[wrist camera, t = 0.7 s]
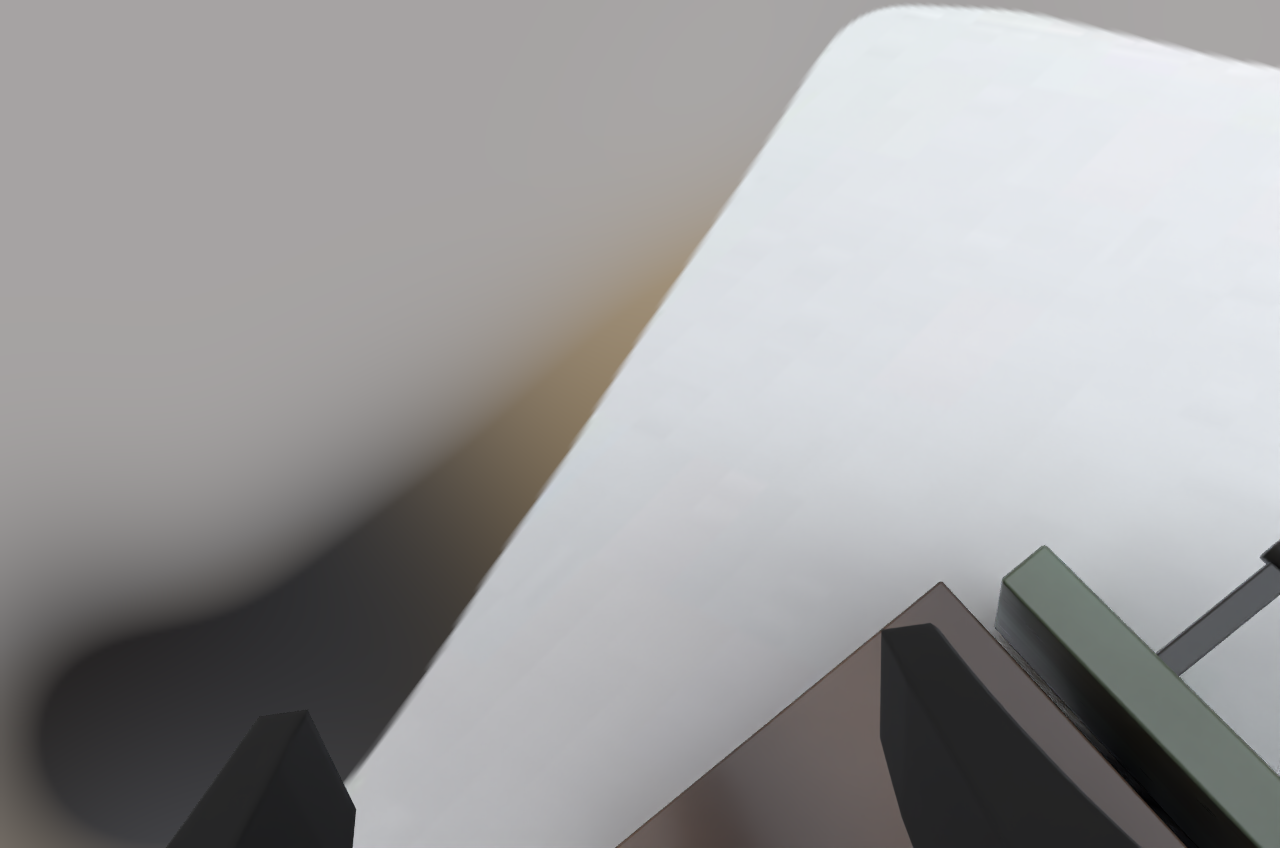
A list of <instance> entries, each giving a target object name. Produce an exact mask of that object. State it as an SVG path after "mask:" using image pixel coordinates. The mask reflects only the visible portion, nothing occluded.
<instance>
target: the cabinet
mask: <svg viewBox="0 0 1280 848" xmlns="http://www.w3.org/2000/svg"><path fill="white" fill-rule="evenodd" d="M925 623H932V624H933V625H935V626H936V627H937V628H939V629H940V631H941V632H942V633H943V634H944V636H945V637H946V638H947V640H948V641H949V642H950V644H951V645H952V646H953V647H954V649H955V650H956V651H957V652H958V654H959V655H960V656H961V657H962V659H963V660H964V661H965V662H966V663H967V665H968V666H969V667H970V668H971V670H972V671H973V672H974V673H975V674H976V676H977V677H978V678H979V679H980V680H981V681H982V683H983V684H984V685H985V686H986V687H987V689H988V690H989V691H990V692H991V693H992V694H993V695H994V697H995V698H996V699H997V700H998V701H999V702H1000V703H1001V705H1002V706H1003V707H1004V708H1005V709H1006V710H1007V712H1008V713H1009V714H1010V715H1011V716H1012V717H1013V718H1014V719H1015V720H1016V722H1017V723H1018V724H1019V725H1020V726H1021V727H1022V728H1023V729H1024V730H1025V731H1026V733H1027V734H1028V735H1029V736H1030V737H1031V738H1032V739H1033V740H1034V741H1035V742H1036V743H1037V744H1038V745H1039V746H1040V747H1041V748H1042V749H1043V750H1044V752H1045V753H1046V754H1047V755H1048V756H1049V757H1050V758H1051V759H1052V760H1053V761H1054V762H1055V763H1056V764H1057V765H1058V766H1059V767H1060V768H1061V769H1062V771H1063V772H1064V773H1065V774H1066V775H1067V776H1068V777H1069V778H1070V779H1071V780H1072V781H1073V782H1074V783H1075V784H1076V785H1077V786H1078V787H1079V788H1080V789H1081V790H1082V791H1083V792H1084V793H1085V794H1086V795H1087V796H1088V797H1089V798H1090V799H1091V800H1092V801H1093V802H1094V803H1095V804H1096V805H1097V806H1098V807H1099V808H1101V809H1102V810H1103V811H1104V812H1105V813H1106V814H1107V815H1108V816H1109V817H1110V818H1111V819H1112V820H1113V821H1114V822H1115V823H1116V824H1117V825H1118V826H1119V827H1120V828H1121V829H1122V830H1123V831H1125V832H1126V833H1127V834H1128V835H1129V836H1130V837H1131V838H1132V839H1133V840H1134V841H1135V842H1136V843H1137V844H1139V845H1140V846H1141V847H1142V848H1187V847H1186V846H1185V844H1184V843H1183V842H1182V841H1181V840H1180V839H1179V838H1178V837H1177V836H1176V835H1175V834H1174V833H1173V831H1172V830H1171V829H1170V828H1169V827H1168V826H1167V825H1166V824H1165V823H1164V822H1163V821H1162V819H1161V818H1160V817H1159V816H1158V815H1157V814H1156V813H1155V812H1154V811H1153V810H1152V809H1151V808H1150V806H1149V805H1148V804H1147V803H1146V802H1145V801H1144V800H1143V799H1142V798H1141V797H1140V796H1139V795H1138V793H1137V792H1136V791H1135V790H1134V789H1133V788H1132V787H1131V786H1130V785H1129V784H1128V783H1127V781H1126V780H1125V779H1124V778H1123V777H1122V776H1121V775H1120V774H1119V773H1118V772H1117V771H1116V770H1115V768H1114V767H1113V766H1112V765H1111V764H1110V763H1109V762H1108V761H1107V760H1106V759H1105V758H1104V757H1103V755H1102V754H1101V753H1100V752H1099V751H1098V750H1097V749H1096V748H1095V747H1094V746H1093V745H1092V743H1091V742H1090V741H1089V740H1088V739H1087V738H1086V737H1085V736H1084V735H1083V734H1082V733H1081V732H1080V730H1079V729H1078V728H1077V727H1076V726H1075V725H1074V724H1073V723H1072V722H1071V721H1070V720H1069V719H1068V717H1067V716H1066V715H1065V714H1064V713H1063V712H1062V711H1061V710H1060V709H1059V708H1058V707H1057V706H1056V704H1055V703H1054V702H1053V701H1052V700H1051V699H1050V698H1049V697H1048V696H1047V695H1046V694H1045V692H1044V691H1043V690H1042V689H1041V688H1040V687H1039V686H1038V685H1037V684H1036V683H1035V682H1034V681H1033V679H1032V678H1031V677H1030V676H1029V675H1028V674H1027V673H1026V672H1025V671H1024V670H1023V669H1022V668H1021V666H1020V665H1019V664H1018V663H1017V662H1016V661H1015V660H1014V659H1013V658H1012V657H1011V656H1010V654H1009V653H1008V652H1007V651H1006V650H1005V649H1004V648H1003V647H1002V646H1001V645H1000V644H999V643H998V641H997V640H996V639H995V638H994V637H993V636H992V635H991V634H990V633H989V632H988V631H987V630H986V628H985V627H984V626H983V625H982V624H981V623H980V622H979V621H978V620H977V619H976V618H975V616H974V615H973V614H972V613H971V612H970V611H969V610H968V609H967V608H966V607H965V606H964V605H963V603H962V602H961V601H960V600H959V599H958V598H957V597H956V596H955V595H954V594H953V593H952V592H951V590H950V589H949V588H948V587H947V586H946V585H945V584H944V583H943V582H939V583H937V584H936V585H935V586H934V587H933V588H931V589H930V590H929V591H928V592H926V593H925V594H924V595H923V596H922V597H920V598H919V599H918V600H917V601H915V602H914V603H913V604H912V605H911V606H909V607H908V608H907V609H906V610H905V611H903V612H902V613H901V614H900V615H898V616H897V617H896V618H895V619H894V620H892V621H891V622H890V623H889V624H887V625H886V626H885V627H884V628H883V629H889V628H897V627H904V626H911V625H918V624H925ZM881 630H882V629H881ZM881 630H880V631H879V632H878V633H876V634H875V635H874V636H873V637H872V638H870V639H869V640H868V641H867V642H865V643H864V644H863V645H862V646H861V647H859V648H858V649H857V650H856V651H854V652H853V653H852V654H851V655H850V656H848V657H847V658H846V659H845V660H844V661H842V662H841V663H840V664H839V665H837V666H836V667H835V668H834V669H833V670H831V671H830V672H829V673H828V674H826V675H825V676H824V677H823V678H822V679H820V680H819V681H818V682H817V683H815V684H814V685H813V686H812V687H811V688H809V689H808V690H807V691H806V692H804V693H803V694H802V695H801V696H800V697H798V698H797V699H796V700H795V701H793V702H792V703H791V704H790V705H789V706H787V707H786V708H785V709H784V710H783V711H781V712H780V713H779V714H778V715H776V716H775V717H774V718H773V719H772V720H770V721H769V722H768V723H767V724H765V725H764V726H763V727H762V728H761V729H759V730H758V731H757V732H756V733H754V734H753V735H752V736H751V737H750V738H748V739H747V740H746V741H745V742H743V743H742V744H741V745H740V746H739V747H737V748H736V749H735V750H734V751H733V752H731V753H730V754H729V755H728V756H726V757H725V758H724V759H723V760H722V761H720V762H719V763H718V764H717V765H715V766H714V767H713V768H712V769H711V770H709V771H708V772H707V773H706V774H704V775H703V776H702V777H701V778H700V779H698V780H697V781H696V782H695V783H693V784H692V785H691V786H690V787H689V788H687V789H686V790H685V791H684V792H682V793H681V794H680V795H679V796H678V797H676V798H675V799H674V800H673V801H672V802H670V803H669V804H668V805H667V806H665V807H664V808H663V809H662V810H661V811H659V812H658V813H657V814H656V815H654V816H653V817H652V818H651V819H650V820H648V821H647V822H646V823H645V824H643V825H642V826H641V827H640V828H639V829H637V830H636V831H635V832H634V833H632V834H631V835H630V836H629V837H628V838H626V839H625V840H624V841H623V842H621V843H620V844H619V845H618V846H617V847H615V848H913V846H912V843H911V840H910V838H909V835H908V833H907V830H906V827H905V825H904V822H903V820H902V817H901V813H900V809H899V806H898V802H897V799H896V795H895V792H894V788H893V785H892V781H891V777H890V774H889V770H888V766H887V762H886V759H885V755H884V751H883V747H882V744H881V740H880V688H881Z"/></svg>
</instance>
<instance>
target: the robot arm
mask: <svg viewBox="0 0 1280 848" xmlns="http://www.w3.org/2000/svg"><path fill="white" fill-rule="evenodd" d="M880 740H881V744H882V747H883V751H884V755H885V759H886V762H887V766H888V770H889V774H890V777H891V781H892V785H893V788H894V792H895V795H896V799H897V802H898V806H899V809H900V813H901V817H902V820H903V822H904V825H905V827H906V830H907V833H908V835H909V838H910V840H911V843H912V846H913V848H1142V847H1141V846H1140V845H1139V844H1137V843H1136V842H1135V841H1134V840H1133V839H1132V838H1131V837H1130V836H1129V835H1128V834H1127V833H1126V832H1125V831H1123V830H1122V829H1121V828H1120V827H1119V826H1118V825H1117V824H1116V823H1115V822H1114V821H1113V820H1112V819H1111V818H1110V817H1109V816H1108V815H1107V814H1106V813H1105V812H1104V811H1103V810H1102V809H1101V808H1099V807H1098V806H1097V805H1096V804H1095V803H1094V802H1093V801H1092V800H1091V799H1090V798H1089V797H1088V796H1087V795H1086V794H1085V793H1084V792H1083V791H1082V790H1081V789H1080V788H1079V787H1078V786H1077V785H1076V784H1075V783H1074V782H1073V781H1072V780H1071V779H1070V778H1069V777H1068V776H1067V775H1066V774H1065V773H1064V772H1063V771H1062V769H1061V768H1060V767H1059V766H1058V765H1057V764H1056V763H1055V762H1054V761H1053V760H1052V759H1051V758H1050V757H1049V756H1048V755H1047V754H1046V753H1045V752H1044V750H1043V749H1042V748H1041V747H1040V746H1039V745H1038V744H1037V743H1036V742H1035V741H1034V740H1033V739H1032V738H1031V737H1030V736H1029V735H1028V734H1027V733H1026V731H1025V730H1024V729H1023V728H1022V727H1021V726H1020V725H1019V724H1018V723H1017V722H1016V720H1015V719H1014V718H1013V717H1012V716H1011V715H1010V714H1009V713H1008V712H1007V710H1006V709H1005V708H1004V707H1003V706H1002V705H1001V703H1000V702H999V701H998V700H997V699H996V698H995V697H994V695H993V694H992V693H991V692H990V691H989V690H988V689H987V687H986V686H985V685H984V684H983V683H982V681H981V680H980V679H979V678H978V677H977V676H976V674H975V673H974V672H973V671H972V670H971V668H970V667H969V666H968V665H967V663H966V662H965V661H964V660H963V659H962V657H961V656H960V655H959V654H958V652H957V651H956V650H955V649H954V647H953V646H952V645H951V644H950V642H949V641H948V640H947V638H946V637H945V636H944V634H943V633H942V632H941V631H940V629H939V628H937V627H936V626H935V625H933V624H932V623H925V624H918V625H911V626H904V627H897V628H889V629H882V630H881V688H880ZM355 815H356V808H355V806H354V804H353V802H352V800H351V798H350V796H349V794H348V792H347V790H346V788H345V786H344V784H343V782H342V780H341V777H340V775H339V773H338V771H337V769H336V767H335V765H334V763H333V761H332V759H331V757H330V755H329V753H328V751H327V749H326V747H325V745H324V743H323V741H322V739H321V737H320V734H319V732H318V730H317V728H316V726H315V724H314V722H313V720H312V718H311V716H310V714H309V712H308V710H302V711H295V712H288V713H281V714H273V715H266V716H260V717H259V718H258V719H257V721H256V722H255V723H254V725H253V726H252V728H251V729H250V730H249V732H248V733H247V734H246V736H245V737H244V738H243V740H242V741H241V743H240V744H239V745H238V747H237V748H236V750H235V751H234V753H233V754H232V756H231V757H230V758H229V760H228V761H227V763H226V764H225V765H224V767H223V768H222V770H221V771H220V773H219V774H218V775H217V777H216V778H215V780H214V781H213V783H212V784H211V785H210V787H209V788H208V790H207V791H206V793H205V794H204V795H203V797H202V798H201V800H200V801H199V802H198V804H197V805H196V807H195V808H194V809H193V811H192V812H191V814H190V815H189V817H188V818H187V820H186V821H185V822H184V824H183V825H182V826H181V828H180V829H179V831H178V832H177V833H176V835H175V836H174V837H173V839H172V840H171V842H170V843H169V844H168V846H167V847H166V848H352V847H353V837H354V826H355Z"/></svg>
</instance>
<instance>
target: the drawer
mask: <svg viewBox="0 0 1280 848" xmlns="http://www.w3.org/2000/svg"><path fill="white" fill-rule="evenodd" d="M1260 559H1261V560H1262V561H1263V562H1265V563H1266V565H1265V566H1263V567H1262V568H1261V569H1259V570H1258V571H1257V572H1256V573H1255V574H1253V575H1252V576H1251V577H1250V578H1248V579H1247V580H1246V581H1245V582H1243V583H1242V584H1241V585H1240V586H1238V587H1237V588H1236V589H1235V590H1234V591H1232V592H1231V593H1230V594H1229V595H1227V596H1226V597H1225V598H1224V599H1222V600H1221V601H1220V602H1219V603H1217V604H1216V605H1215V606H1214V607H1213V608H1211V609H1210V610H1209V611H1208V612H1206V613H1205V614H1204V615H1203V616H1201V617H1200V618H1199V619H1198V620H1197V621H1195V622H1194V623H1193V624H1192V625H1190V626H1189V627H1188V628H1187V629H1185V630H1184V631H1183V632H1182V633H1180V634H1179V635H1178V636H1177V637H1176V638H1174V639H1173V640H1172V641H1171V642H1169V643H1168V644H1167V645H1166V646H1164V647H1163V648H1162V649H1161V650H1159V651H1158V652H1157V653H1155V652H1154V651H1153V650H1151V649H1150V648H1149V647H1148V646H1147V645H1146V644H1145V643H1144V642H1143V641H1142V640H1141V639H1140V638H1139V637H1138V636H1137V635H1136V634H1135V633H1134V632H1133V631H1132V630H1131V629H1130V628H1129V627H1128V626H1127V625H1126V624H1125V623H1124V622H1123V621H1122V620H1121V619H1120V618H1119V617H1118V616H1117V615H1116V614H1115V613H1114V612H1113V611H1112V610H1111V609H1110V608H1109V607H1108V606H1107V605H1106V604H1105V603H1104V602H1103V601H1102V600H1101V599H1100V598H1099V597H1098V596H1097V595H1096V594H1095V593H1094V592H1093V591H1092V590H1091V589H1090V588H1089V587H1088V586H1087V585H1086V584H1085V583H1084V582H1083V581H1082V580H1081V579H1080V578H1079V577H1078V576H1077V575H1076V574H1075V573H1074V572H1073V571H1072V570H1071V569H1070V568H1069V567H1068V566H1067V565H1066V564H1065V563H1064V562H1063V561H1062V560H1061V559H1060V558H1059V557H1058V556H1057V555H1056V554H1055V553H1054V552H1053V551H1052V550H1051V549H1050V548H1048V547H1047V546H1045V545H1044V546H1041V547H1040V548H1039V549H1038V550H1036V551H1035V552H1034V553H1033V554H1031V555H1030V556H1029V557H1028V558H1027V559H1025V560H1024V561H1023V562H1022V563H1020V564H1019V565H1018V566H1017V567H1016V568H1014V569H1013V570H1012V571H1011V572H1009V573H1008V574H1007V575H1006V576H1005V577H1003V579H1002V582H1001V589H1000V595H999V602H998V608H997V615H996V621H995V628H996V629H997V631H998V632H999V633H1000V634H1001V635H1002V636H1003V637H1004V638H1005V639H1006V640H1007V641H1008V642H1009V643H1010V645H1011V646H1012V647H1013V648H1014V649H1015V650H1016V651H1017V652H1018V653H1019V654H1020V655H1021V656H1022V657H1023V659H1024V660H1025V661H1026V662H1027V663H1028V664H1029V665H1030V666H1031V667H1032V668H1033V669H1034V670H1035V671H1036V673H1037V674H1038V675H1039V676H1040V677H1041V678H1042V679H1043V680H1044V681H1045V682H1046V683H1047V684H1048V686H1049V687H1050V688H1051V689H1052V690H1053V691H1054V692H1055V693H1056V694H1057V695H1058V696H1059V697H1060V698H1061V700H1062V701H1063V702H1064V703H1065V704H1066V705H1067V706H1068V707H1069V708H1070V709H1071V710H1072V711H1073V712H1074V714H1075V715H1076V716H1077V717H1078V718H1079V719H1080V720H1081V721H1082V722H1083V723H1084V724H1085V725H1086V726H1087V728H1088V729H1089V730H1090V731H1091V732H1092V733H1093V734H1094V735H1095V736H1096V737H1097V738H1098V739H1099V741H1100V742H1101V743H1102V744H1103V745H1104V746H1105V747H1106V748H1107V749H1108V750H1109V751H1110V752H1111V753H1112V755H1113V756H1114V757H1115V758H1116V759H1117V760H1118V761H1119V762H1120V763H1121V764H1122V765H1123V766H1124V767H1125V769H1126V770H1127V771H1128V772H1129V773H1130V774H1131V775H1132V776H1133V777H1134V778H1135V779H1136V780H1137V781H1138V783H1139V784H1140V785H1141V786H1142V787H1143V788H1144V789H1145V790H1146V791H1147V792H1148V793H1149V794H1150V795H1151V797H1152V798H1153V799H1154V800H1155V801H1156V802H1157V803H1158V804H1159V805H1160V806H1161V807H1162V808H1163V810H1164V811H1165V812H1166V813H1167V814H1168V815H1169V816H1170V817H1171V818H1172V819H1173V820H1174V821H1175V822H1176V824H1177V825H1178V826H1179V827H1180V828H1181V829H1182V830H1183V831H1184V832H1185V833H1186V834H1187V835H1188V836H1189V838H1190V839H1191V840H1192V841H1193V842H1194V843H1195V844H1196V845H1197V846H1198V847H1199V848H1280V776H1279V775H1278V774H1277V773H1276V772H1275V771H1274V770H1273V769H1272V768H1271V767H1270V766H1269V765H1268V764H1267V763H1266V762H1265V761H1264V760H1263V759H1262V758H1261V757H1260V756H1259V755H1258V754H1257V753H1256V752H1254V751H1253V750H1252V749H1251V748H1250V747H1249V746H1248V745H1247V744H1246V743H1245V742H1244V741H1243V740H1242V739H1241V738H1240V737H1239V736H1238V735H1237V734H1236V733H1235V732H1234V731H1233V730H1232V729H1231V728H1230V727H1229V726H1228V725H1227V724H1226V723H1225V722H1224V721H1223V720H1222V719H1221V718H1220V717H1219V716H1218V715H1217V714H1216V713H1215V712H1214V711H1213V710H1212V709H1211V708H1210V707H1209V706H1208V705H1207V704H1206V703H1205V702H1204V701H1203V700H1202V699H1201V698H1200V697H1199V696H1198V695H1197V694H1196V693H1195V692H1194V691H1193V690H1192V689H1191V688H1190V687H1189V686H1188V685H1187V684H1186V683H1185V682H1184V681H1183V680H1182V679H1181V678H1180V677H1179V676H1180V675H1181V674H1183V673H1184V672H1185V671H1186V670H1187V669H1189V668H1190V667H1191V666H1192V665H1194V664H1195V663H1196V662H1197V661H1199V660H1200V659H1201V658H1202V657H1204V656H1205V655H1206V654H1207V653H1208V652H1210V651H1211V650H1212V649H1213V648H1215V647H1216V646H1217V645H1218V644H1220V643H1221V642H1222V641H1223V640H1225V639H1226V638H1227V637H1228V636H1230V635H1231V634H1232V633H1233V632H1234V631H1236V630H1237V629H1238V628H1239V627H1241V626H1242V625H1243V624H1244V623H1246V622H1247V621H1248V620H1249V619H1251V618H1252V617H1253V616H1254V615H1255V614H1257V613H1258V612H1259V611H1260V610H1262V609H1263V608H1264V607H1265V606H1267V605H1268V604H1269V603H1270V602H1272V601H1273V600H1274V599H1275V598H1277V597H1278V596H1279V595H1280V540H1279V541H1277V542H1276V543H1275V544H1274V545H1272V546H1271V547H1270V548H1269V549H1268V550H1266V551H1265V552H1264V553H1263V554H1262V555H1261V556H1260Z"/></svg>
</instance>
